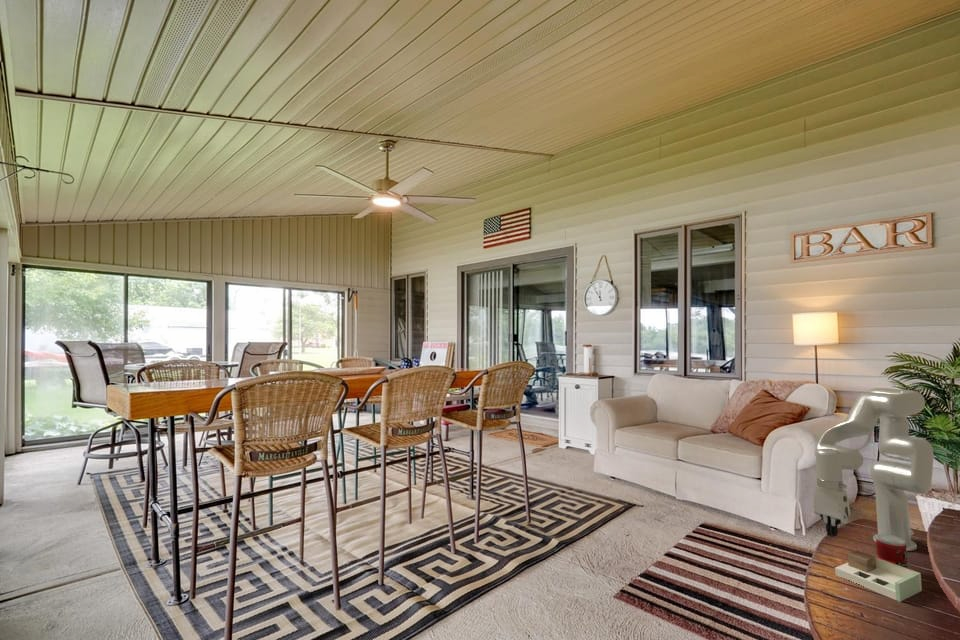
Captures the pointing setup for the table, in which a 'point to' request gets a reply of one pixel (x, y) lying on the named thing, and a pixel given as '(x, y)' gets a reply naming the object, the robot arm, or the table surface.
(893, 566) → the trap box
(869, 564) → the block
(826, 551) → the table surface
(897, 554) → the canned food
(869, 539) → the table surface
